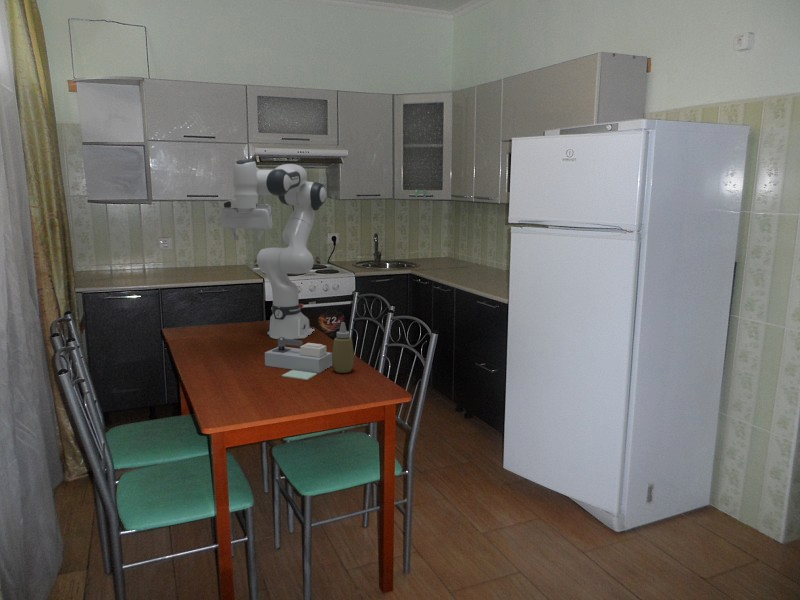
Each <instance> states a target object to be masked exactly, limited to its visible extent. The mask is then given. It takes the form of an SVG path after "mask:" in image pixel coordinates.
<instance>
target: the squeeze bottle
mask: <svg viewBox="0 0 800 600" xmlns="http://www.w3.org/2000/svg"><path fill="white" fill-rule="evenodd" d="M354 354H355V353H354V345H353V338H351V337H350V331H348V330H347V327H346V322H344V321H341V322H340V327H339V331H336V337H335V338H334V339H333V347H332V367H333V369H334V372H336V373H339V374H346V373H351V372H352V368H353V367H354V363H355V355H354Z"/></svg>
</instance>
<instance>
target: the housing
mask: <svg viewBox="0 0 800 600" xmlns="http://www.w3.org/2000/svg"><path fill="white" fill-rule="evenodd" d="M332 354H333V352H329V351H326V354H325V355H323V356H321V357H315V356H308V355H300V348H296V347H291V346H290V347H288V346H285V350H278V346H277V347H275V348H273V349H270V350H267V351H265V352H264V366H266V367H270V368H273V367H274V368H277V369H278V368H280V369H287V370H297V371H304V372H311V373H317V374H321V373H322V372H324V371H325V369H326V370H328V369H329V368H331V367H333V364H332ZM330 366H331V367H330ZM327 368H328V369H327Z"/></svg>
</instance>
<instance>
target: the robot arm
mask: <svg viewBox="0 0 800 600" xmlns="http://www.w3.org/2000/svg"><path fill="white" fill-rule="evenodd" d="M232 174H233V176H232V178H233V179H232V182H233V183H232V184H233V187H234V191H233V198H232V199H229V200H226V201H223V202H221V208H222V209H221V211H220V213H219V216H220V217H219V218H220V219H219V224H220V226H221V228H223V229H229V232H230V234H231V237H232V240H233V241H238V240H239V235H238V234H236V232H235V231H236V229H247V230H249V229H250V230H257V232H258V234H257V236H255V242H261V241H262V236H263V234H264V232H265V230H272V228H273V227H274V224H273V222H274V221H273V208H272V206H271V205H269V204H262V203H259V196H276V197H278V199H279V202H280V203H281V204H282V205H283V204H284V205H286V206H295V207H294V210H293V211H292V212H291V214H290V217H289V218H288V219H287V222H286V225H285V227H284V230H283V232H282V235H281V236H282V240H283V242H284V243H285V245H286V246H287V247H273V246H272V247H266V248H262V249H260V251H259V252H258V254H257V255H256V264H257V266H258V268H259V270H261V271H262V272H263V273H264V274H265V276H266V277H267V278H268V280H269V284H270V286H271V293H272V305H271V313H272V314H271V316H270V319H269V331H267V335H268V336H269V337H270V338H271V339H275V340H278V338H280V337H284V338H285V339H293V340H299V339H307V337H309V336H310V335H311V334H313V333H314V332H316V331H315V328H313V329H312V327H310V319H309V318H308V317H307V316H306V315H304V314H303V312H302V310H301V309H304V303H299V288H298V286H297V284H296V283H295V282H293V281H291V279H290V278H289V276H288V274H290V275H303V274H308V273H310V272H311V271H312V269H313V267H314V264H315V263H314V262H315V261H314V256H313V254H312V253H311V251H309V250H308V247H307V244H308V241H309V237H310V234H311V232H312V230H313V225H314V222H315V216H316V215H315V212H316V211H318V210H319V209H320V207H322V206H323V204H324V203H325V201H326V199H327V189H326V187H325V185H324V184H323V183H321V182H317V181H314V182H313V181H307V179H308V173H307V171H306V169H305V168H304V167H303V166H302V165H299V164H295V163H283V164H281V165H280V164H279V165H277V166H276V167H275V168H274V169H260V168H259V167H257V164H256V161H255V160H253V159H239V160H237V161H235V162H234V165H233V172H232ZM313 331H314V332H313ZM312 332H313V333H312ZM308 335H309V336H308Z"/></svg>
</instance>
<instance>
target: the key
mask: <svg viewBox="0 0 800 600" xmlns="http://www.w3.org/2000/svg"><path fill="white" fill-rule="evenodd" d="M286 345H288V346H295V347H296V346H297V347H300V346H303V340H299V339H285V338H284V337H280V338H278V339H277V347H278V350H285V347H286Z"/></svg>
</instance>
